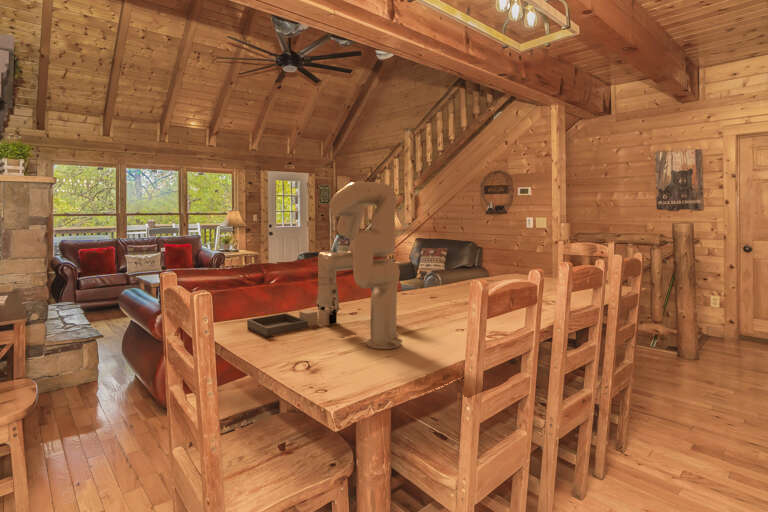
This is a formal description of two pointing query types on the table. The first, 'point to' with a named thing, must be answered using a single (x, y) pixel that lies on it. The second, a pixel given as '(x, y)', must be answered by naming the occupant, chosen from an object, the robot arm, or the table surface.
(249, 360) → the table surface
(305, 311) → the beige cube
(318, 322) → the walnut board
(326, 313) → the peach cube
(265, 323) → the charcoal bin
